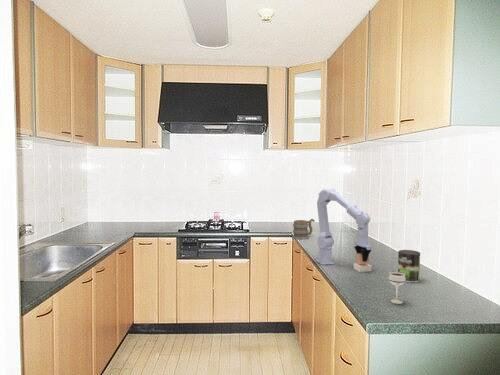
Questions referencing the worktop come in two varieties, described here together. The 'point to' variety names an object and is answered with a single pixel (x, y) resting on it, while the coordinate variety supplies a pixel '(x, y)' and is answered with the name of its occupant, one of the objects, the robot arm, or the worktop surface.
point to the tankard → (302, 229)
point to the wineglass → (397, 282)
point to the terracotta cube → (360, 260)
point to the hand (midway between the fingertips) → (362, 260)
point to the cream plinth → (362, 267)
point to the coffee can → (409, 265)
